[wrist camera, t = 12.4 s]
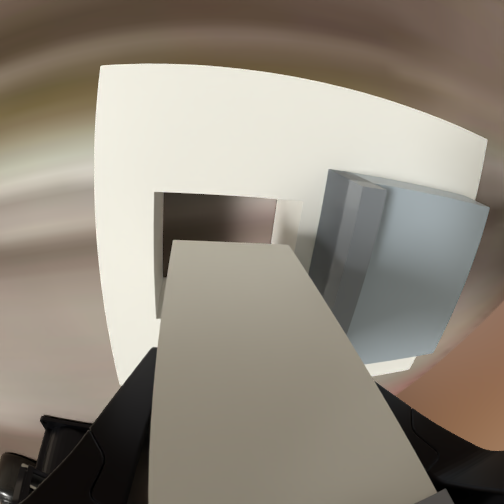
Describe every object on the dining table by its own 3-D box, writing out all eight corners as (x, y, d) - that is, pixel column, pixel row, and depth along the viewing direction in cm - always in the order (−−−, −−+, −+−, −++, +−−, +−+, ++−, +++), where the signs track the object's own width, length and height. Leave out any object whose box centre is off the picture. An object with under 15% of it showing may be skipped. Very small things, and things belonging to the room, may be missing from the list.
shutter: (291, 344, 16) (308, 385, 13) (328, 168, 12) (362, 186, 10) (416, 333, 18) (441, 363, 15) (464, 195, 14) (503, 214, 11)
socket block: (128, 341, 19) (119, 385, 16) (124, 76, 13) (100, 65, 9) (385, 336, 23) (409, 369, 19) (443, 129, 16) (487, 139, 13)
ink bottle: (69, 487, 29) (62, 555, 18) (23, 477, 28) (11, 538, 17) (38, 456, 25) (23, 536, 14) (-10, 443, 24) (-30, 512, 13)
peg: (171, 335, 12) (176, 601, 3) (170, 236, 10) (143, 602, 1) (274, 336, 13) (358, 574, 4) (291, 242, 11) (465, 524, 2)
